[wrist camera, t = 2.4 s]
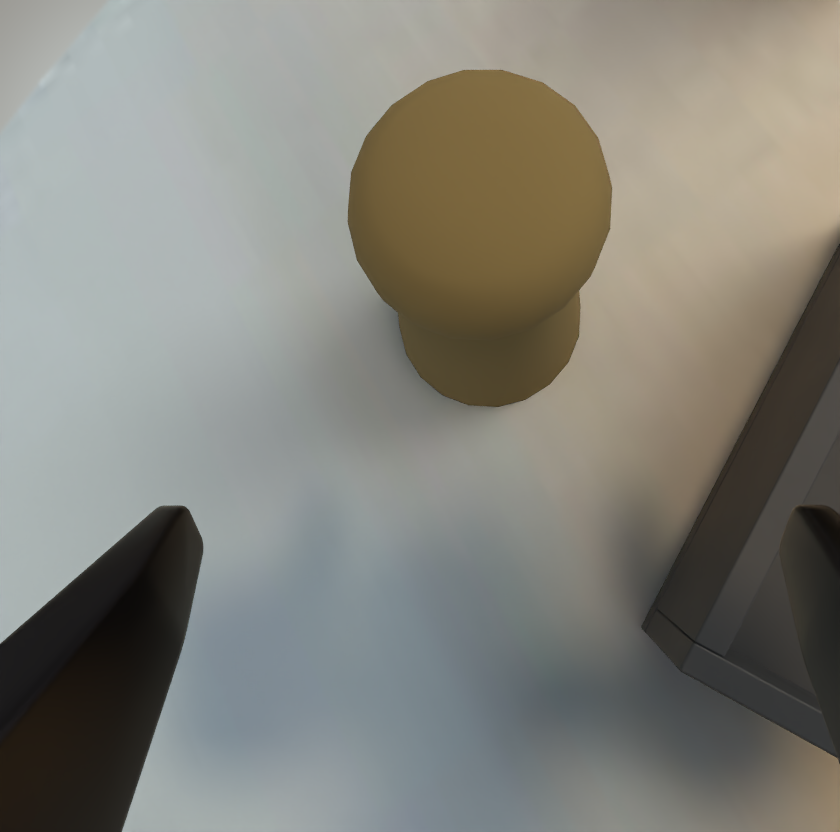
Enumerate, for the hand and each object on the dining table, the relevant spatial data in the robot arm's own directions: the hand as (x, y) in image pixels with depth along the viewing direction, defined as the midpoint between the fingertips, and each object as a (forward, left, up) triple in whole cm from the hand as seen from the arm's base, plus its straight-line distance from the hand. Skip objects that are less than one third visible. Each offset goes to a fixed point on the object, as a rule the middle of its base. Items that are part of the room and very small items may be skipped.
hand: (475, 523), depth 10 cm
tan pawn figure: (+5, +3, -12) cm, 14 cm away
